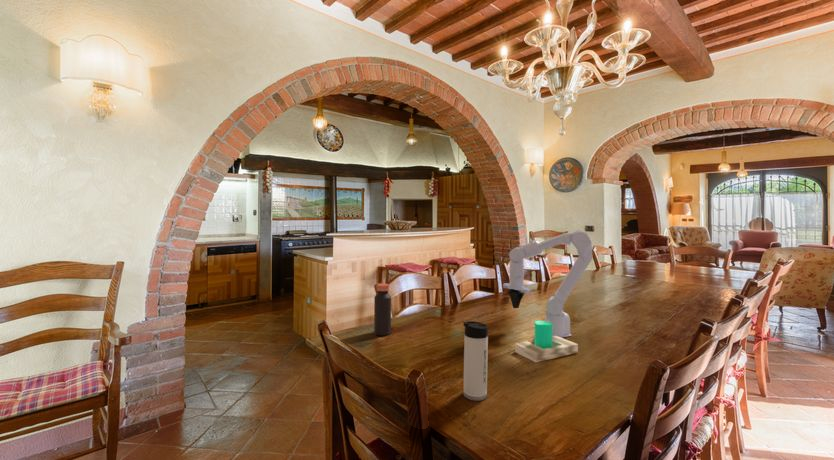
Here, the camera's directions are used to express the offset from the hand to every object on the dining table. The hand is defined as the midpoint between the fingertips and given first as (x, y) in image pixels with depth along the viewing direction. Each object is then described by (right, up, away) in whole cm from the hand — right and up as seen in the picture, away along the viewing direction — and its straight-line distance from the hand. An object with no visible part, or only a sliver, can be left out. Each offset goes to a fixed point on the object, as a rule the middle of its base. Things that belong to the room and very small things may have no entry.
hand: (515, 307), depth 152 cm
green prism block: (+3, -11, -23) cm, 26 cm away
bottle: (-56, -9, -6) cm, 57 cm away
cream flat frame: (+4, -11, -24) cm, 27 cm away
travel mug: (-26, -12, -55) cm, 62 cm away
